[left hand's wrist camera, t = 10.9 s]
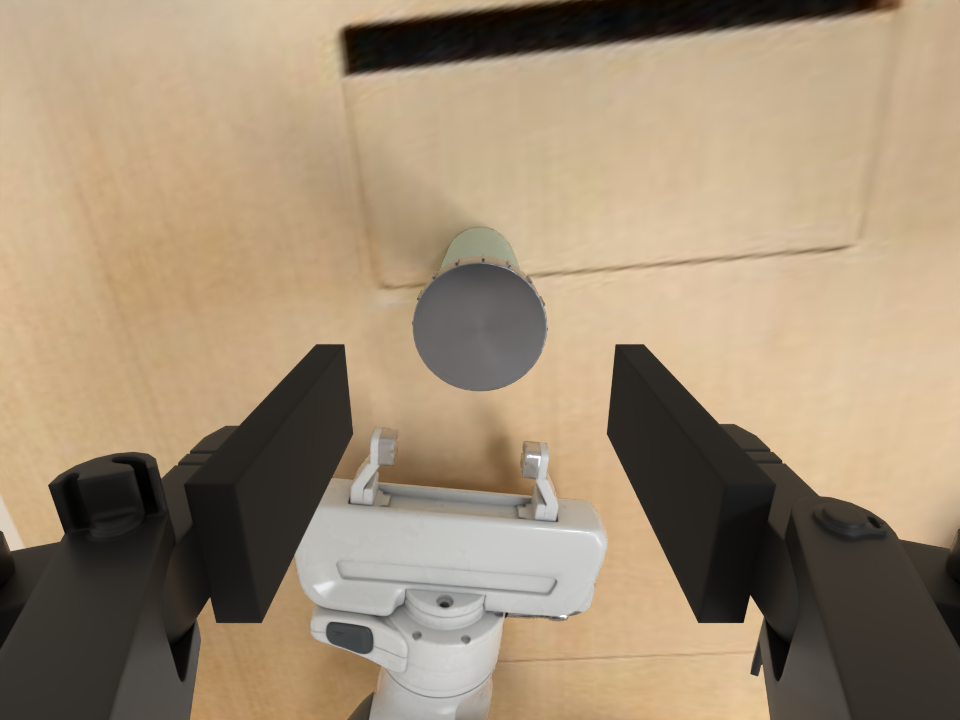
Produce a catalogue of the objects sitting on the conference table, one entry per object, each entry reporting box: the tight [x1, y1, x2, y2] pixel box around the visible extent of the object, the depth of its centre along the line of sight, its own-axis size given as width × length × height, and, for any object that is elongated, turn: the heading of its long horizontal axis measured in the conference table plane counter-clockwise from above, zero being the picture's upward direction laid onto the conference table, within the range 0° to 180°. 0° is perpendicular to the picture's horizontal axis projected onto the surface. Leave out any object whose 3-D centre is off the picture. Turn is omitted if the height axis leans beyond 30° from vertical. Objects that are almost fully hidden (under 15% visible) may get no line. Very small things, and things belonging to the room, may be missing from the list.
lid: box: [412, 254, 548, 391], centre depth 20 cm, size 5×5×2 cm
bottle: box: [440, 227, 520, 269], centre depth 27 cm, size 5×5×15 cm
